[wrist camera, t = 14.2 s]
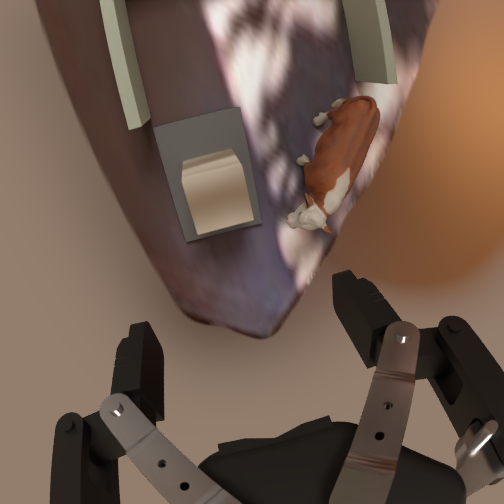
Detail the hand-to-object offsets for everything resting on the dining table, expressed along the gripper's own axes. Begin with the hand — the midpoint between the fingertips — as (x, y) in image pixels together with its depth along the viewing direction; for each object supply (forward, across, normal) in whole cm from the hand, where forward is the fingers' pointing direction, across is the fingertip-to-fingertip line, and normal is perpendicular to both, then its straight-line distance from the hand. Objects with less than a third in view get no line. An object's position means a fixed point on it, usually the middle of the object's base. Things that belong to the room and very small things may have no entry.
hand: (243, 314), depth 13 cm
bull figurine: (+20, -11, 0) cm, 23 cm away
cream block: (+19, 0, 0) cm, 19 cm away
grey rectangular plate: (+20, 0, 0) cm, 20 cm away
